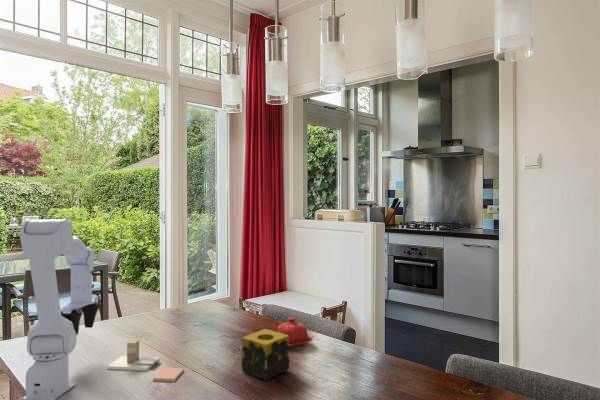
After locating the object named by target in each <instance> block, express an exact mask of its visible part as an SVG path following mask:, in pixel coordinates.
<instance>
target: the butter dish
mask: <svg viewBox="0 0 600 400" xmlns="http://www.w3.org/2000/svg"><path fill="white" fill-rule="evenodd" d="M276 332H278V333H282V334H285V335H288V336H289V340H288V346H289V347H292V346H299V345H302V344H303V345H304V344H306V343H309V342H312V341H313V338H312V337H310V336H309V334H308V331H307V327H306V326H305V325H304V324H303V323H301V322H299V321H296V317H292V316H291V317H288V321H287V322H286V321H285V322H283V323H281V324H279V325H278V326H277V330H276Z"/></svg>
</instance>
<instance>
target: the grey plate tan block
mask: <svg viewBox="0 0 600 400" xmlns="http://www.w3.org/2000/svg"><path fill="white" fill-rule="evenodd" d="M126 356H127V363H133V365H153V366H154V365H155V364H156V363H158V362H159V361H160V360H161V356H140V340H139V339H130V340H128V341H127V343H126ZM139 357H140V358H139Z"/></svg>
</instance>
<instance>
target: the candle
mask: <svg viewBox="0 0 600 400" xmlns="http://www.w3.org/2000/svg"><path fill="white" fill-rule="evenodd" d="M288 340H289V336H288V335H285V334H282V333H278V332H277V331H275V330H270V329H269V328H268V329H267V328H263V329H262V330H258V331H256V332H254V333H250V334H248V335H244V336H243V337H241V346H242V347H241V348H242V349H241V367H242V368H241V370H242V372H243V373H246V374H249V375H251V376H254V377H257V378H259V379H262V380H264V381H266V380H269V379H271V378H273V377H276V376H278V375H279V374H282V373H283V372H286V371H288V370H289V369H290V365H289V364H290V353H289V348H290V346H288Z"/></svg>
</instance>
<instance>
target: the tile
mask: <svg viewBox="0 0 600 400" xmlns="http://www.w3.org/2000/svg"><path fill="white" fill-rule="evenodd" d="M184 370H185V368H183V367H180V368H179V367H163V368H161V369H160V371H158V372H157V374H155V375H154V376H153V378H152V382H173V383H174V382H176V381H177V379H179V377H180V376H181V374H183V372H184Z"/></svg>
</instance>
